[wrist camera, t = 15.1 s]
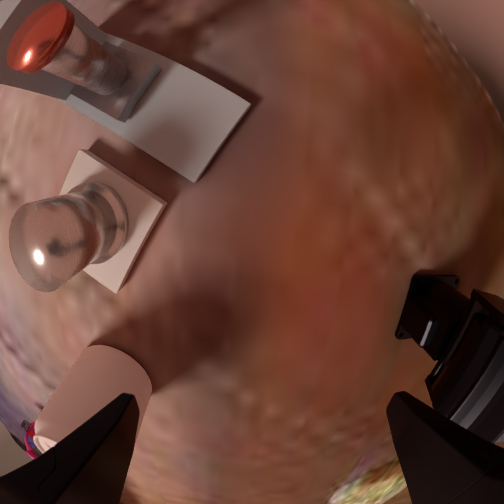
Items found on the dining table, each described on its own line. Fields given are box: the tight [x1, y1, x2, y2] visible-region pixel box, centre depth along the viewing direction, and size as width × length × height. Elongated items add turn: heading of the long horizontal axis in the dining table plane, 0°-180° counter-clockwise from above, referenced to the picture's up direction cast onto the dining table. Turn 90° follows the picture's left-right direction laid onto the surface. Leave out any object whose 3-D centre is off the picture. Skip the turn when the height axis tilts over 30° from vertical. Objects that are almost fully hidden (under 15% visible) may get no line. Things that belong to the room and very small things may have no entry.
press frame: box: [0, 0, 251, 294], centre depth 12 cm, size 16×17×11 cm
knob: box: [9, 182, 129, 292], centre depth 14 cm, size 6×6×7 cm
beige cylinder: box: [33, 345, 152, 453], centre depth 17 cm, size 8×8×12 cm
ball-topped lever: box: [7, 1, 162, 123], centre depth 10 cm, size 5×4×10 cm
